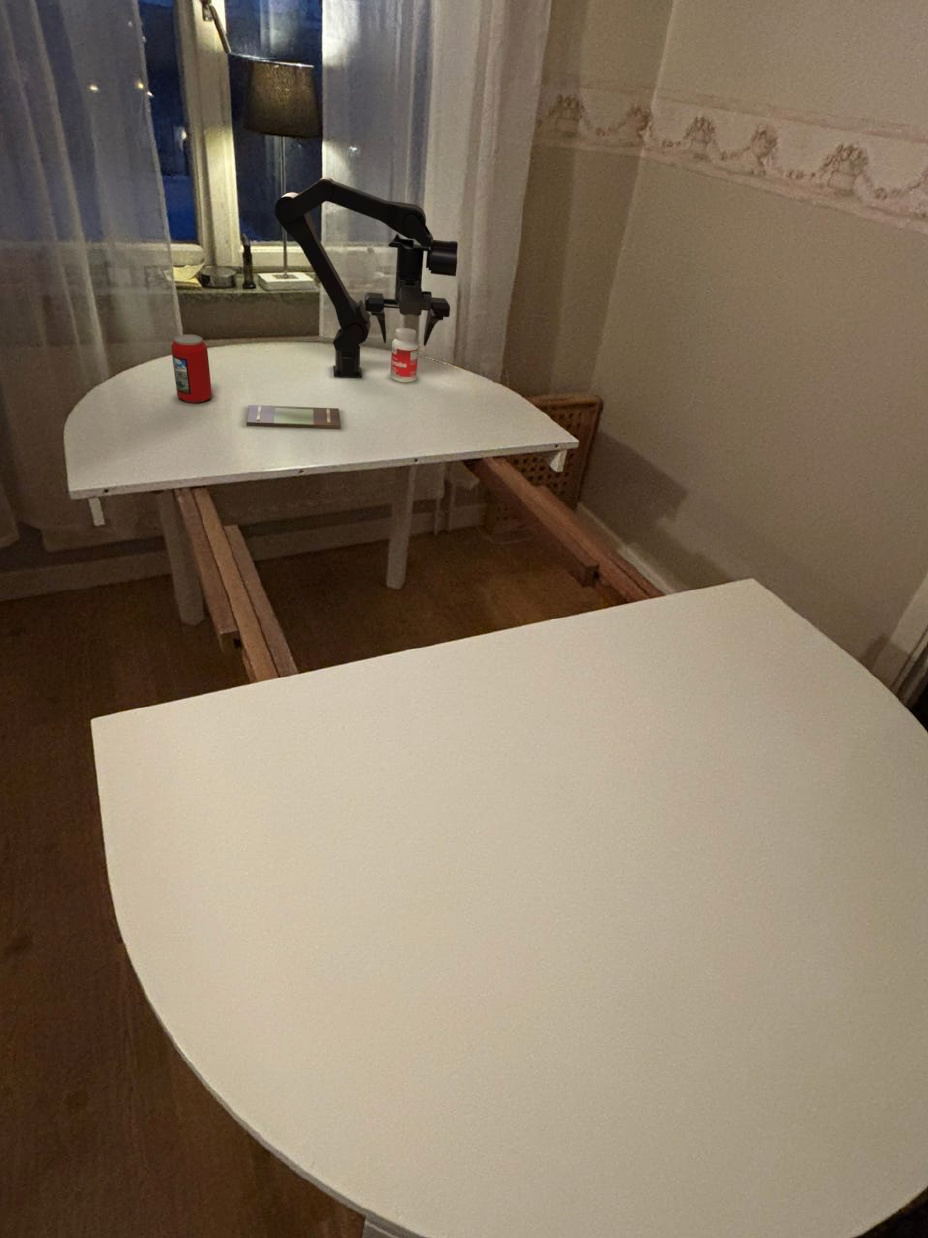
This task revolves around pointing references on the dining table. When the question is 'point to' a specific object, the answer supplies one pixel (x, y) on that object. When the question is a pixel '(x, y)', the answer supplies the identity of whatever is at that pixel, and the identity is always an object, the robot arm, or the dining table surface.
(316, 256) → the robot arm
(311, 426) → the brown and green board
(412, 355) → the pill bottle
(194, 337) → the beverage can
